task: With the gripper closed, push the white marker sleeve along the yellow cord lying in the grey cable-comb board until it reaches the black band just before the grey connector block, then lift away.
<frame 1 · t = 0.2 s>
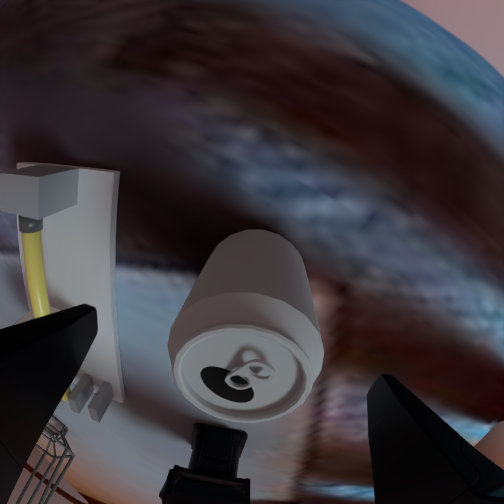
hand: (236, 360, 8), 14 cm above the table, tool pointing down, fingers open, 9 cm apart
comb board: (67, 295, 25), on the table
sleeve: (43, 348, 21), point 6 cm above the table, slide at 0.0 cm
geometric lantern: (50, 420, 36), on the table
can: (256, 271, 23), on the table
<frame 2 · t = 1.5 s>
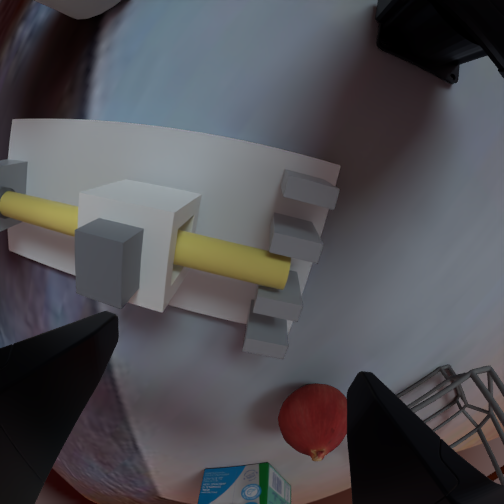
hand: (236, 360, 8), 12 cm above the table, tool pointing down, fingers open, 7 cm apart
comb board: (128, 209, 19), on the table
milk carton: (249, 478, 31), on the table
sleeve: (131, 243, 14), point 5 cm above the table, slide at 0.0 cm
geometric lantern: (430, 394, 24), on the table
onion: (311, 385, 24), on the table
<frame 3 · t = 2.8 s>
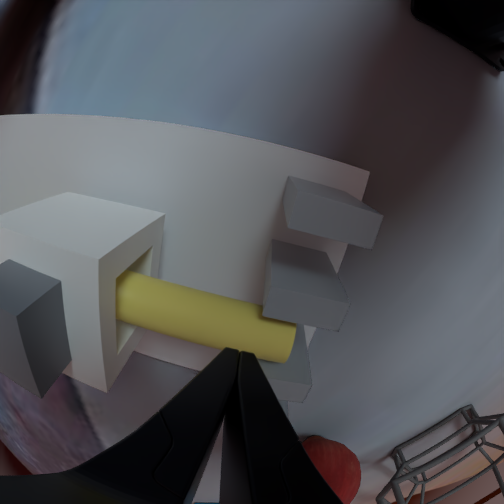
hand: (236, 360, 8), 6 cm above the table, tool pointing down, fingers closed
comb board: (80, 229, 14), on the table
sleeve: (63, 291, 9), point 5 cm above the table, slide at 0.0 cm
geometric lantern: (446, 433, 19), on the table
onion: (314, 436, 18), on the table
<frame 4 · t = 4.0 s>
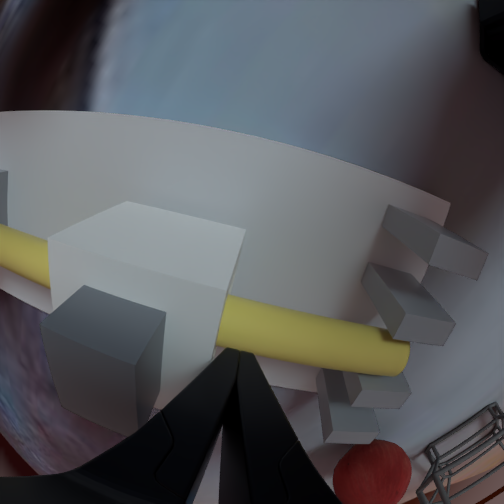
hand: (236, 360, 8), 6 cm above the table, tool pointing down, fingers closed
comb board: (152, 245, 14), on the table
sleeve: (141, 315, 9), point 6 cm above the table, slide at 1.2 cm, touching gripper
geometric lantern: (472, 429, 19), on the table
onion: (363, 437, 18), on the table
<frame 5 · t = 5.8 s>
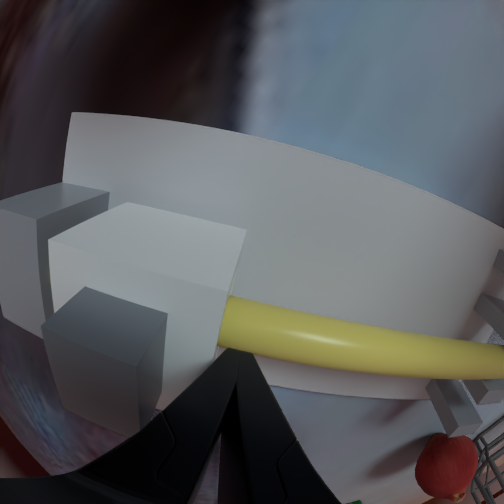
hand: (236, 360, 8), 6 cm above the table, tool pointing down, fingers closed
comb board: (310, 285, 14), on the table
sleeve: (143, 316, 9), point 6 cm above the table, slide at 9.0 cm, touching gripper
onion: (434, 433, 19), on the table
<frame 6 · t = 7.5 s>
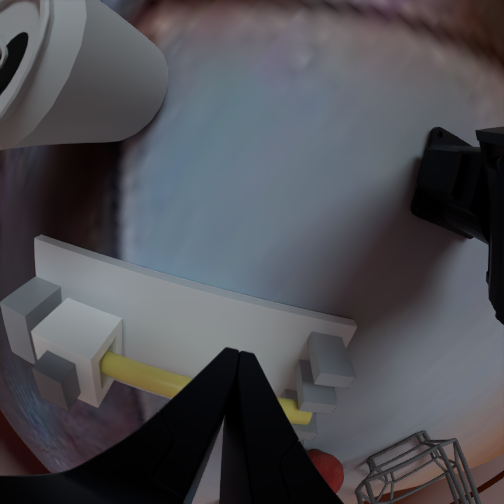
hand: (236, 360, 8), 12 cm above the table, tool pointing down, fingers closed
comb board: (171, 342, 22), on the table
sleeve: (73, 359, 17), point 5 cm above the table, slide at 9.0 cm
geometric lantern: (408, 448, 28), on the table
can: (123, 90, 16), on the table
onion: (313, 449, 27), on the table
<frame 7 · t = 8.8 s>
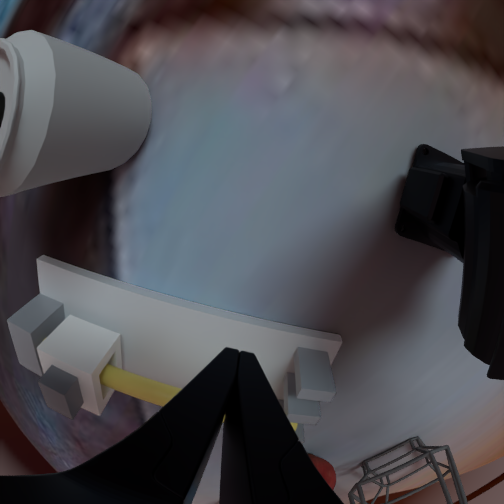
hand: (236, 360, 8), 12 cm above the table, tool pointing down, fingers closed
comb board: (167, 355, 23), on the table
sleeve: (76, 372, 18), point 6 cm above the table, slide at 9.0 cm
geometric lantern: (402, 453, 28), on the table
can: (110, 118, 17), on the table
onion: (308, 453, 28), on the table
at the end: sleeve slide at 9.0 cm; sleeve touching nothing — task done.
